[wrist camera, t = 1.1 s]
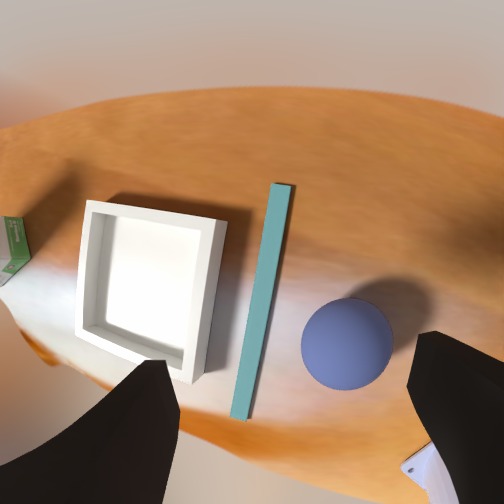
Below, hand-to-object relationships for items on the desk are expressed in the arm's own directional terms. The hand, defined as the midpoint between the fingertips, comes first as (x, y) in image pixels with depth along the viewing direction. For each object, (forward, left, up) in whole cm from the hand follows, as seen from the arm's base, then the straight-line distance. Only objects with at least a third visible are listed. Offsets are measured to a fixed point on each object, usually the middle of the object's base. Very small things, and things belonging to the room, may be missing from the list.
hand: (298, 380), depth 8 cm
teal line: (+2, +3, -11) cm, 12 cm away
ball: (-2, 0, -8) cm, 9 cm away
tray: (+9, +8, -11) cm, 16 cm away
